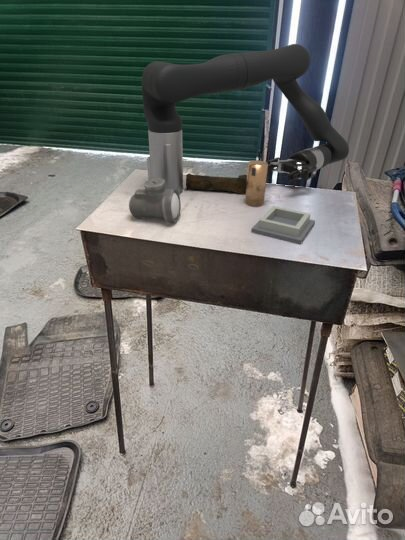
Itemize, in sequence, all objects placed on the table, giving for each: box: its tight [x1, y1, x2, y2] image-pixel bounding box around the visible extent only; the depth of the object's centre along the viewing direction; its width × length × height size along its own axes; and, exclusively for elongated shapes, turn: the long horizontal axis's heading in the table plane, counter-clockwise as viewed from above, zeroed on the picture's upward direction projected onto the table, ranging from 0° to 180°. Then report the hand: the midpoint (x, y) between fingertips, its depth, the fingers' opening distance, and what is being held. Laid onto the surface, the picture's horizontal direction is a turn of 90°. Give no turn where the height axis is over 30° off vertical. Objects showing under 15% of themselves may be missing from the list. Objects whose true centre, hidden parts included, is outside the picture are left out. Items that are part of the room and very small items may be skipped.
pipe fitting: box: [128, 178, 182, 223], centre depth 94 cm, size 12×8×10 cm, turn 76°
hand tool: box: [185, 173, 247, 196], centre depth 111 cm, size 23×5×6 cm, turn 77°
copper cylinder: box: [244, 160, 268, 208], centre depth 102 cm, size 5×5×11 cm
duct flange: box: [250, 205, 316, 245], centre depth 92 cm, size 12×12×3 cm
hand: (276, 173), depth 108 cm, fingers open, 8 cm apart
